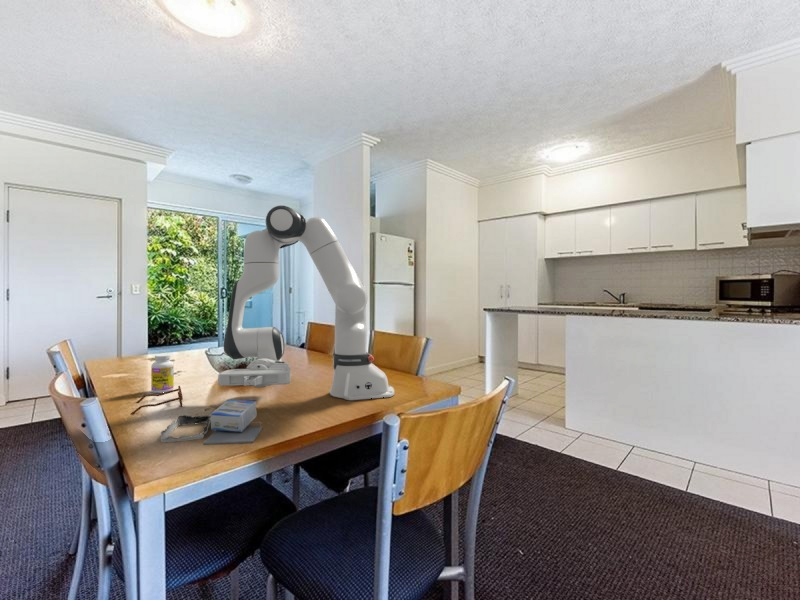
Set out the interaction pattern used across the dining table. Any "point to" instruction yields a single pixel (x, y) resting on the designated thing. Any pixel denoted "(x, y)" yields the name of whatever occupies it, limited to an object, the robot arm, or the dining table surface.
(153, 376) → the supplement bottle
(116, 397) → the dining table surface
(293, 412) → the dining table surface
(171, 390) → the glasses
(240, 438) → the tip mat
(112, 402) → the dining table surface
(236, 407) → the medicine box
